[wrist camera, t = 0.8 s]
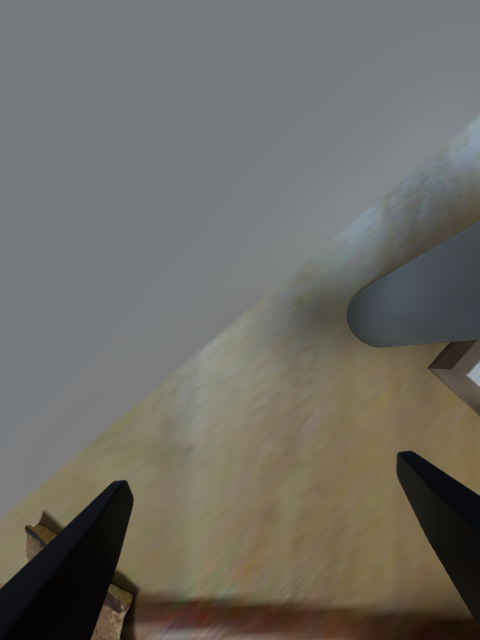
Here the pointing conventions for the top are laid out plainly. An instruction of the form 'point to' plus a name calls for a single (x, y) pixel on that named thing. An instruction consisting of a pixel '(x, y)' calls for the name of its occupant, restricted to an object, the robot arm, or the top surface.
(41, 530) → the shard
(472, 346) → the plate
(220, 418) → the top surface
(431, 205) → the top surface
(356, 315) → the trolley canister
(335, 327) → the top surface
